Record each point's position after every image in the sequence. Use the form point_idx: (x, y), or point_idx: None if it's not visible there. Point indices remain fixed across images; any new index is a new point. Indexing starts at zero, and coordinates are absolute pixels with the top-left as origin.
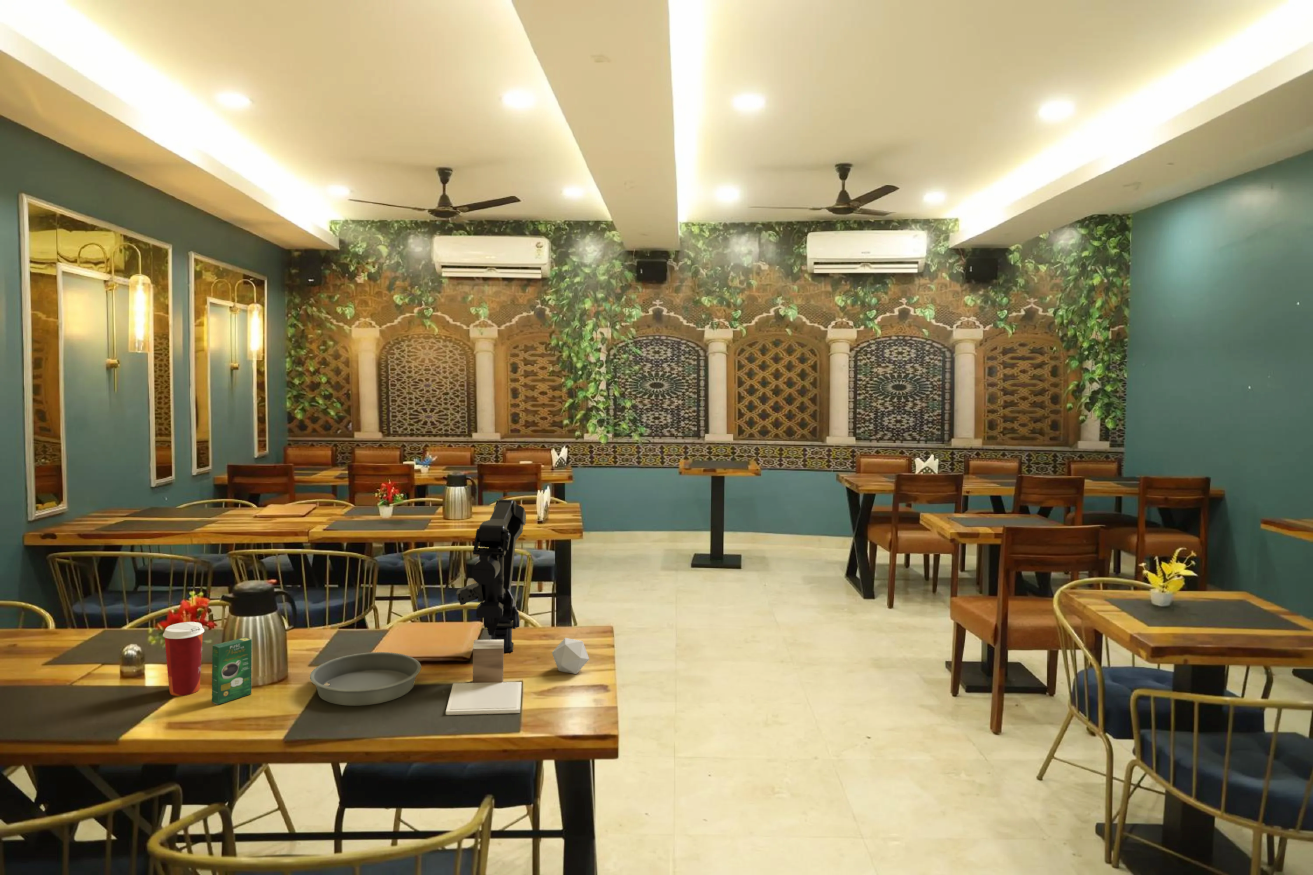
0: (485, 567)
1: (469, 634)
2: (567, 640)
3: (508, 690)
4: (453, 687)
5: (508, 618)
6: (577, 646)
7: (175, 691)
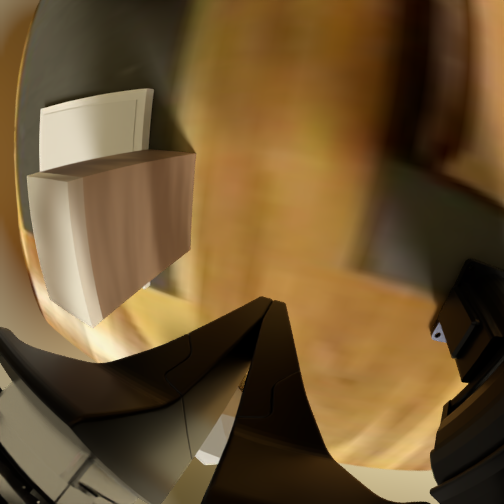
0: None
1: None
2: (210, 455)
3: None
4: (121, 95)
5: (438, 438)
6: None
7: None
